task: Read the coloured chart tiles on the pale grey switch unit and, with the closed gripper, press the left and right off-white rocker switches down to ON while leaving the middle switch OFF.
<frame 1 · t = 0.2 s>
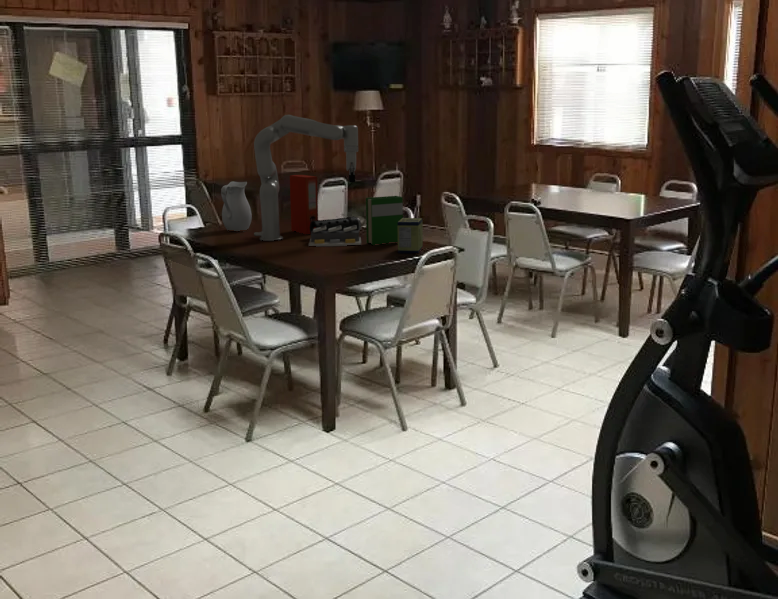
hand: (352, 181, 453), 31 cm above the table, tool pointing down, fingers open, 9 cm apart
file binder: (305, 232, 482), on the table
pitcher: (234, 231, 489), on the table
muzzle brake: (336, 237, 467), on the table
switch unit: (335, 242, 446), on the table
switch middle: (334, 228, 445), point 7 cm above the table, hinge at -14.0°
switch left: (319, 228, 445), point 7 cm above the table, hinge at -14.0°
switch right: (350, 228, 446), point 7 cm above the table, hinge at -14.0°
hardback book: (384, 243, 443), on the table
protein box: (410, 251, 420), on the table
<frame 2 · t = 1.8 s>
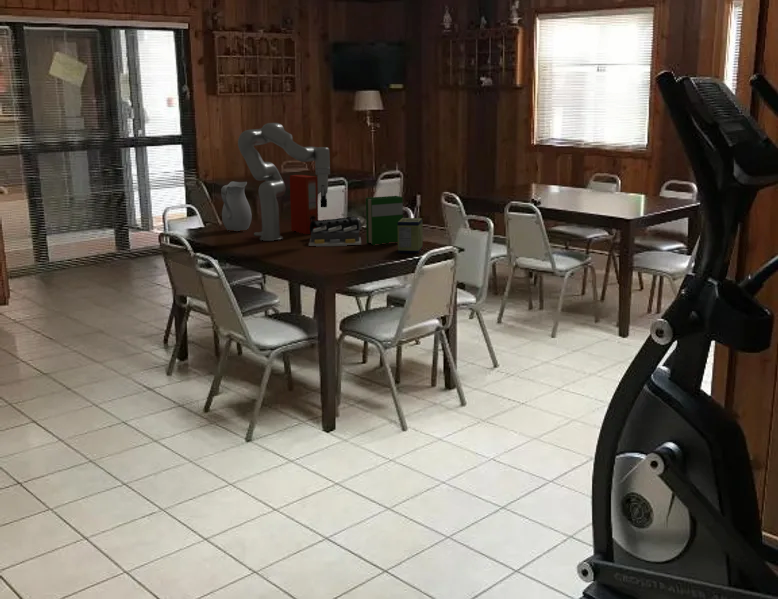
hand: (323, 206, 442), 19 cm above the table, tool pointing down, fingers closed
nothing on the table moved.
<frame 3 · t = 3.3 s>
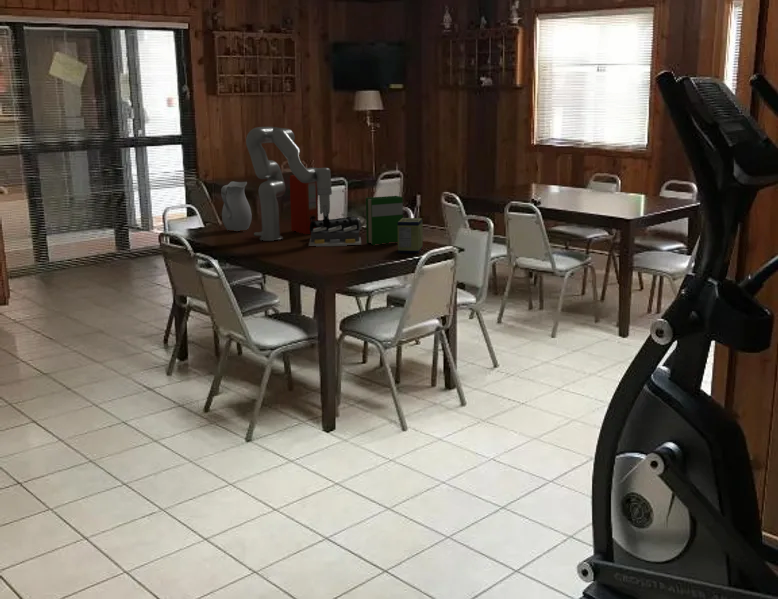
hand: (326, 226, 445), 9 cm above the table, tool pointing down, fingers closed
switch left: (319, 228, 445), point 7 cm above the table, hinge at -11.8°, touching gripper
everything else where it was.
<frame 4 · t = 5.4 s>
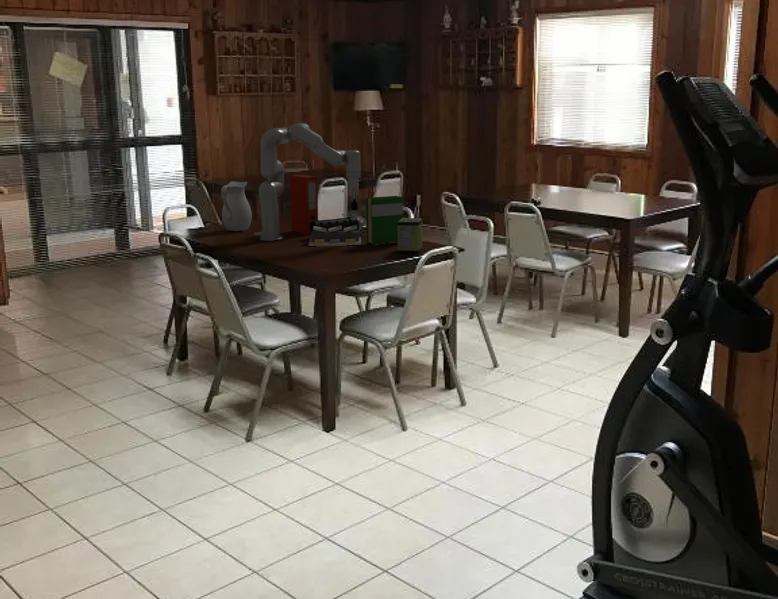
hand: (354, 209, 444), 17 cm above the table, tool pointing down, fingers closed
switch left: (319, 228, 445), point 7 cm above the table, hinge at 13.1°
everything else where it was.
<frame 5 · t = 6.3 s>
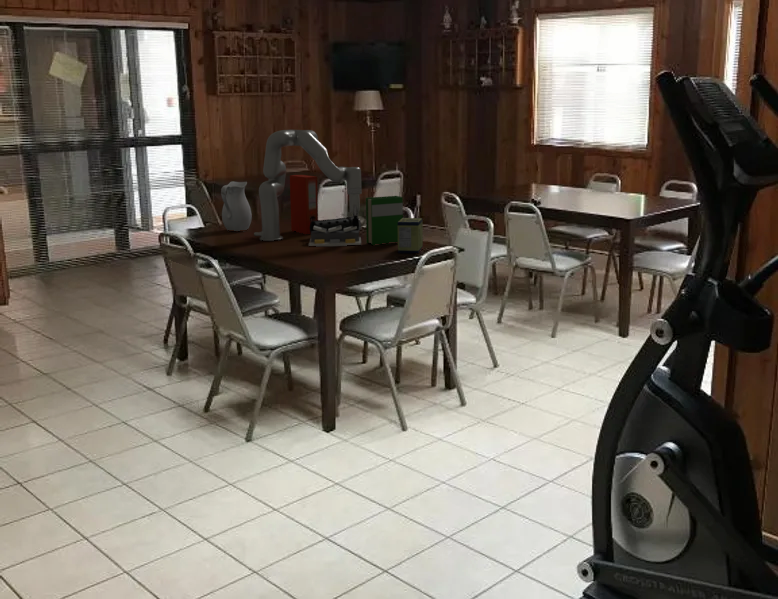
hand: (355, 225, 445), 9 cm above the table, tool pointing down, fingers closed
switch left: (319, 228, 445), point 7 cm above the table, hinge at 17.1°
switch right: (350, 228, 446), point 7 cm above the table, hinge at -13.9°, touching gripper
everything else where it was.
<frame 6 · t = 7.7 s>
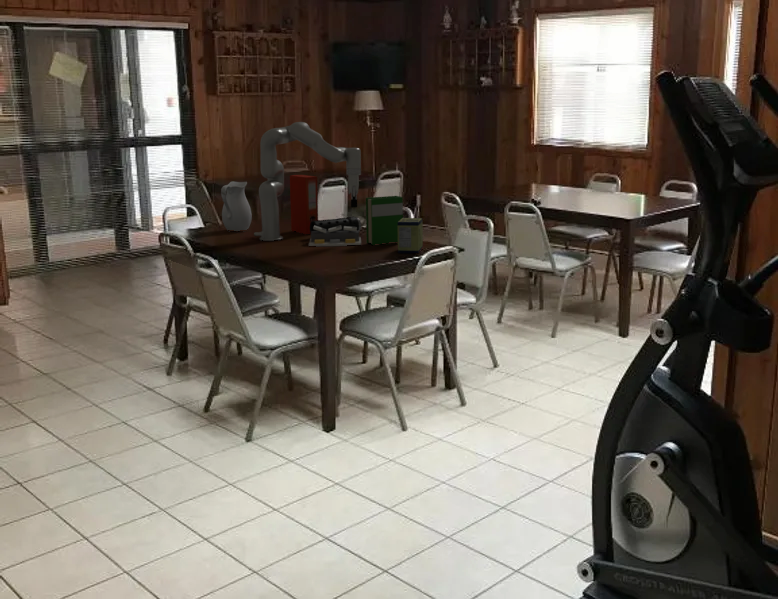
hand: (354, 207, 443), 19 cm above the table, tool pointing down, fingers closed
switch left: (319, 228, 445), point 7 cm above the table, hinge at 20.5°, touching switch unit
switch right: (350, 228, 446), point 7 cm above the table, hinge at 5.2°
everything else where it was.
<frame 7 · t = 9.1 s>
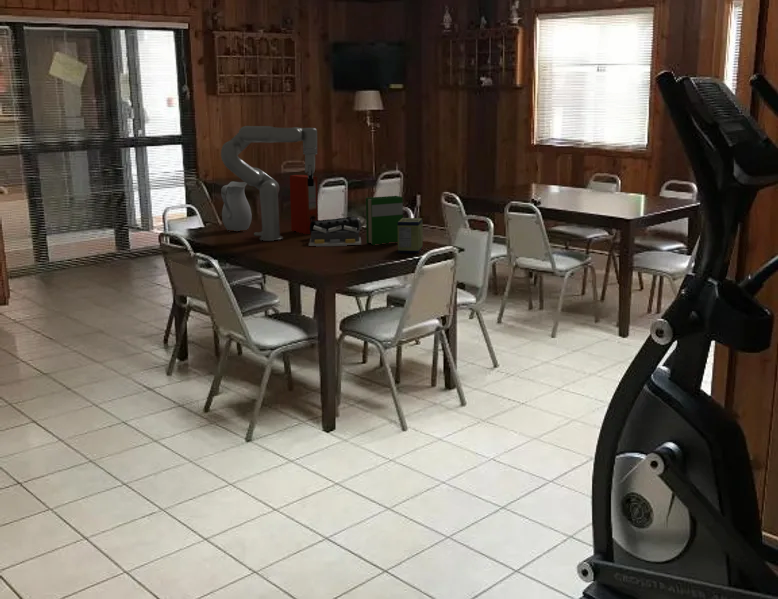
hand: (310, 186, 453), 29 cm above the table, tool pointing down, fingers closed
switch left: (319, 228, 445), point 7 cm above the table, hinge at 19.5°, touching switch unit
switch right: (350, 228, 446), point 7 cm above the table, hinge at 13.6°
everything else where it was.
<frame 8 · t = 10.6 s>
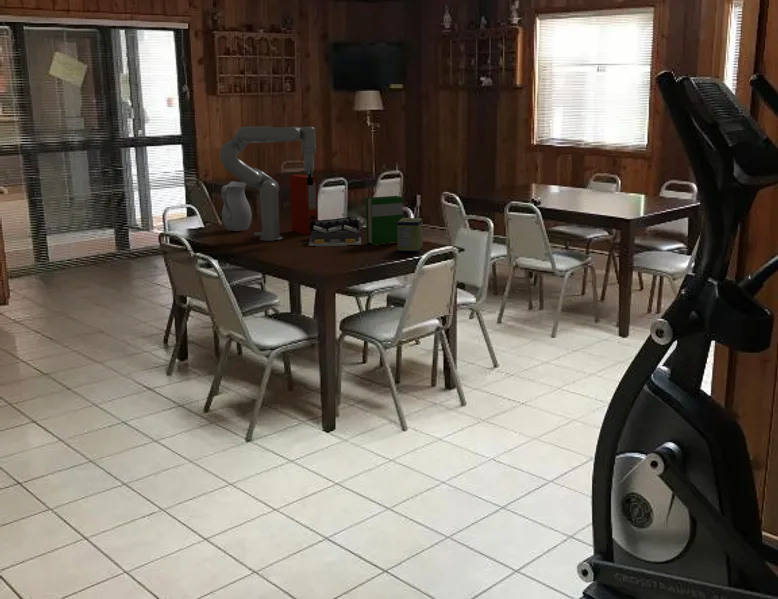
hand: (310, 185, 454), 29 cm above the table, tool pointing down, fingers closed
switch left: (319, 228, 445), point 7 cm above the table, hinge at 18.9°
switch right: (350, 228, 446), point 7 cm above the table, hinge at 17.8°
everything else where it was.
at the end: switch left at +19° (first picture: -14°); switch right at +18° (first picture: -14°); switch middle at -14° (first picture: -14°) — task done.
